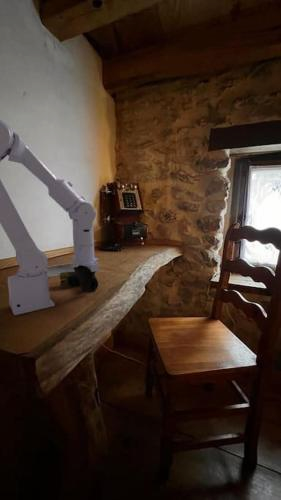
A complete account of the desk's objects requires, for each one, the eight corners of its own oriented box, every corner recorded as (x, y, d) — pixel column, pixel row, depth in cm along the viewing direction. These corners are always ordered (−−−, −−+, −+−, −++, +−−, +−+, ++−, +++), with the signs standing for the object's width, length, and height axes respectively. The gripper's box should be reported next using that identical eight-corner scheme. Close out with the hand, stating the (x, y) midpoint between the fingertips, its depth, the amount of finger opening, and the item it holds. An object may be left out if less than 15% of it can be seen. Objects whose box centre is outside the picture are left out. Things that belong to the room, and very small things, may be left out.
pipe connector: (58, 278, 68) (61, 267, 82) (59, 295, 69) (61, 281, 83) (98, 275, 71) (93, 265, 85) (98, 292, 72) (93, 279, 86)
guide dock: (43, 280, 84) (42, 269, 83) (40, 277, 87) (39, 267, 86) (94, 271, 95) (94, 261, 95) (90, 269, 99) (90, 260, 98)
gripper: (108, 246, 62) (109, 294, 65) (87, 241, 74) (89, 281, 76) (83, 249, 58) (86, 299, 61) (65, 243, 70) (67, 285, 72)
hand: (86, 290), depth 68 cm, fingers closed
